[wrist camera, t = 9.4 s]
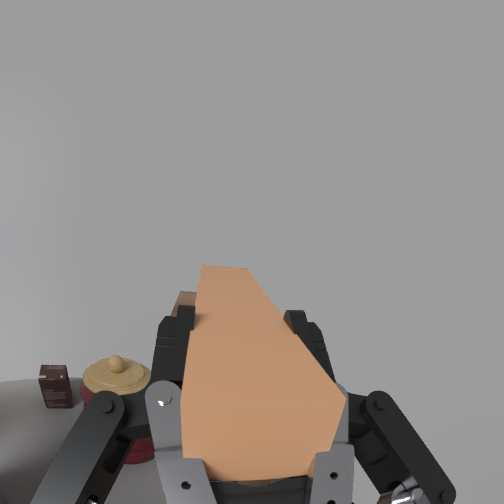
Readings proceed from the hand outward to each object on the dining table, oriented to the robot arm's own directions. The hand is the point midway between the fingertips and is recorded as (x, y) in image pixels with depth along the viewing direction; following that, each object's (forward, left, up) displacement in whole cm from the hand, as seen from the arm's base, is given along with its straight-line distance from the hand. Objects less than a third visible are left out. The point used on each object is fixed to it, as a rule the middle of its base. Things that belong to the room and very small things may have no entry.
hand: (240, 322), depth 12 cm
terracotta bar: (-3, +2, -3) cm, 5 cm away
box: (-45, -7, -34) cm, 57 cm away
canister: (-29, +3, -34) cm, 45 cm away
